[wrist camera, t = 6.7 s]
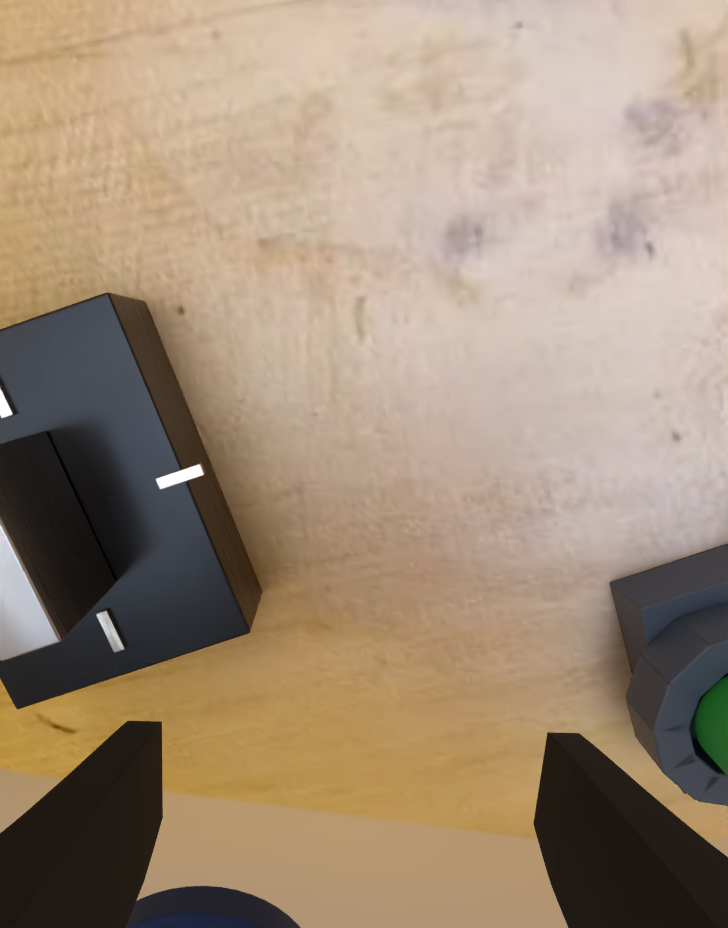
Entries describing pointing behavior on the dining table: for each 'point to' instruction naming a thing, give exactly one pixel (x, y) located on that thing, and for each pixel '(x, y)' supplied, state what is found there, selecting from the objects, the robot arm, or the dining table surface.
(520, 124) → the dining table surface
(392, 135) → the dining table surface
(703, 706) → the button
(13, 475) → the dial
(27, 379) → the control panel
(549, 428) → the dining table surface
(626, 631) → the button block
